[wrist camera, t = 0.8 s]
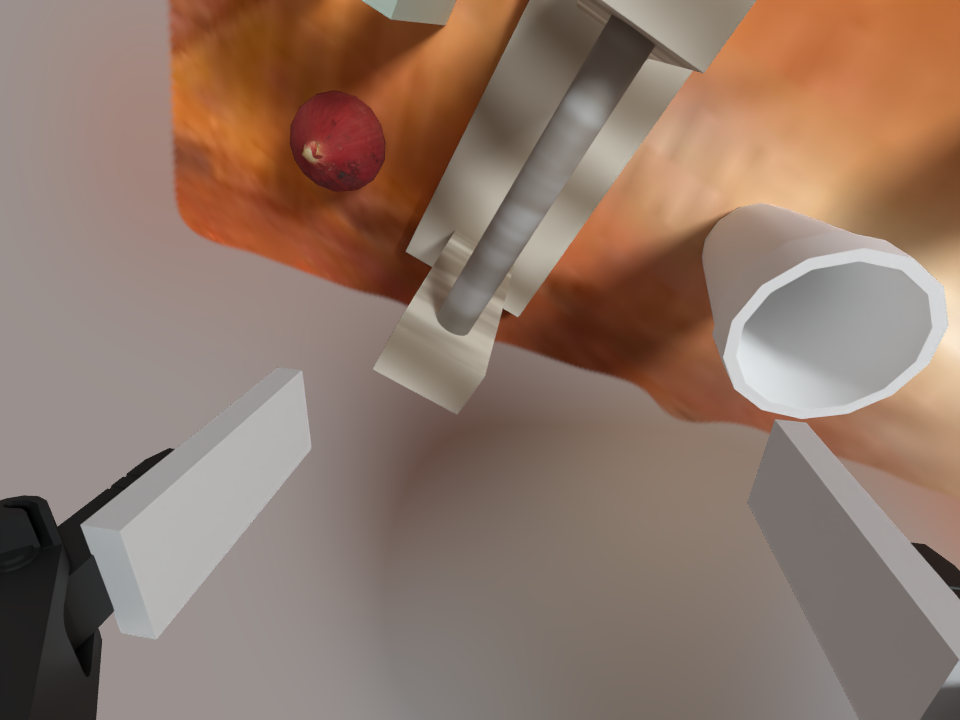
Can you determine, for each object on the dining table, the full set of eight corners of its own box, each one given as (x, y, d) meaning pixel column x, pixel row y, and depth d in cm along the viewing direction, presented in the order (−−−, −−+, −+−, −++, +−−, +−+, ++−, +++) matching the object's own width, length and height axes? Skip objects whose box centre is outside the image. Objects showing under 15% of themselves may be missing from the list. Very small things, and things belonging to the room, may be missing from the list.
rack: (575, -88, 27) (577, -214, 13) (722, 20, 28) (853, 3, 15) (410, 244, 39) (325, 352, 25) (519, 308, 40) (493, 441, 27)
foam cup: (788, 147, 31) (902, 204, 20) (850, 257, 34) (980, 358, 23) (653, 239, 35) (688, 327, 25) (718, 330, 38) (775, 443, 28)
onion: (415, 151, 35) (378, 178, 28) (354, 191, 37) (306, 224, 30) (366, 68, 32) (313, 76, 26) (304, 116, 35) (240, 135, 28)
